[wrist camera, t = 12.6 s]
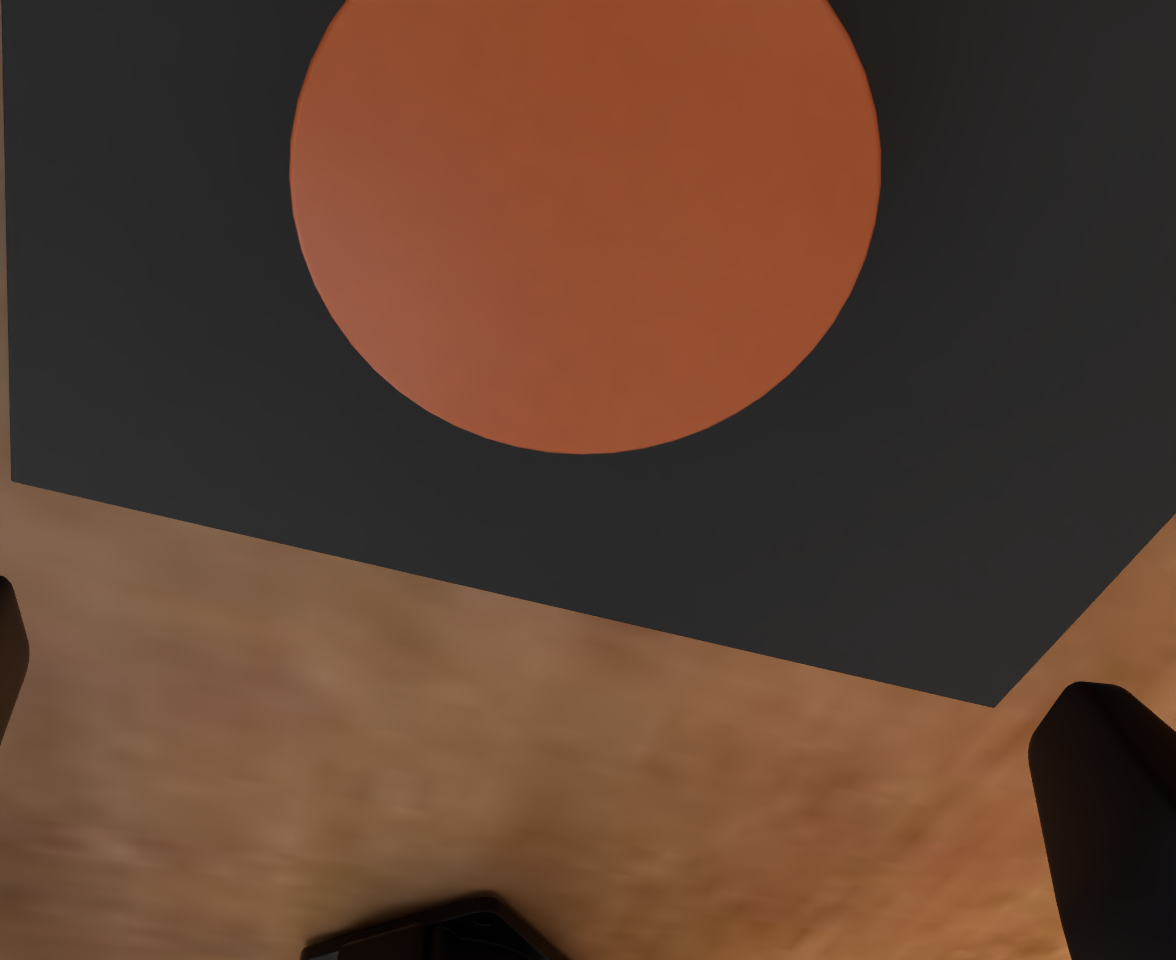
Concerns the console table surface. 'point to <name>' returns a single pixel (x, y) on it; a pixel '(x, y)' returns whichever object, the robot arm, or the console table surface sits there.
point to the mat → (666, 471)
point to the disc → (585, 205)
